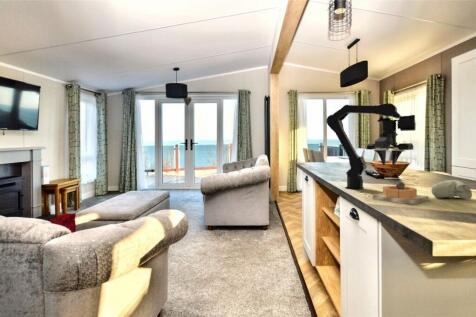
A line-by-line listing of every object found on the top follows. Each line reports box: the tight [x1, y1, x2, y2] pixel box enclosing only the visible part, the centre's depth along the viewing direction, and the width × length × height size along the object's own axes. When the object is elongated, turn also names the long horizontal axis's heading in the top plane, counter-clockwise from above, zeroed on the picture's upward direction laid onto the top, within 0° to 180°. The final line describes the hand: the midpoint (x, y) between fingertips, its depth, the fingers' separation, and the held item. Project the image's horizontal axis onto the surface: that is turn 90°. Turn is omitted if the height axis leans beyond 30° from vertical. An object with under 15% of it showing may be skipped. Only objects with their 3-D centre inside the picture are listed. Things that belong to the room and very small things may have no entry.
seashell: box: [430, 179, 473, 201], centre depth 112 cm, size 13×8×10 cm
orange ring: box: [382, 185, 418, 198], centre depth 112 cm, size 11×11×3 cm
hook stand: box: [372, 181, 429, 206], centre depth 112 cm, size 15×13×7 cm
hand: (388, 165), depth 129 cm, fingers open, 4 cm apart
